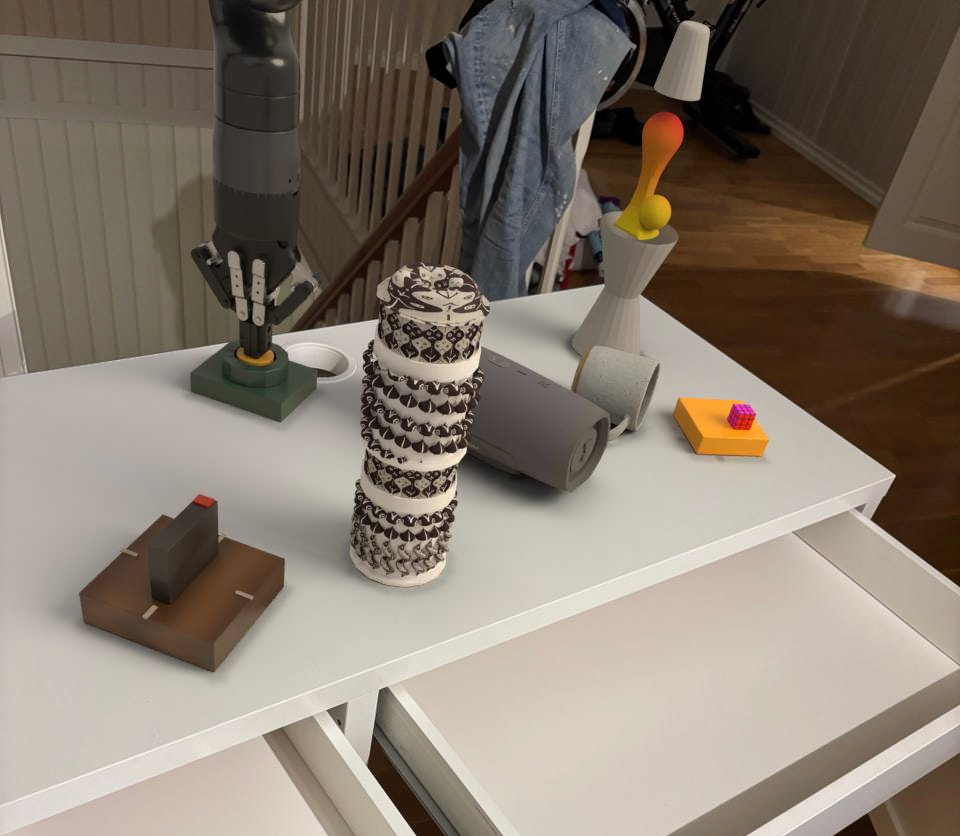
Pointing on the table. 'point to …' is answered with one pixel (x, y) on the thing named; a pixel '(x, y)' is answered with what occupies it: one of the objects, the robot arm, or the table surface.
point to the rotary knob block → (185, 600)
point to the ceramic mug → (617, 385)
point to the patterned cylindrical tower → (416, 421)
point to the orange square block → (720, 426)
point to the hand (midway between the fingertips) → (256, 353)
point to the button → (262, 361)
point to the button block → (254, 382)
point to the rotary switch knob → (183, 548)
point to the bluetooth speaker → (535, 425)
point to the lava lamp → (644, 207)
